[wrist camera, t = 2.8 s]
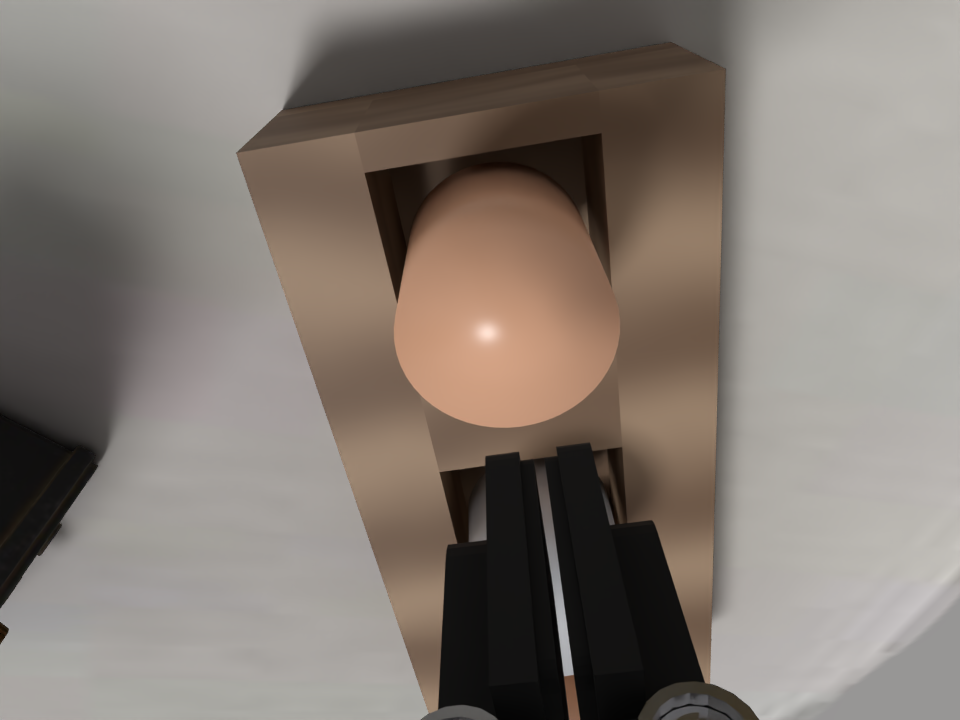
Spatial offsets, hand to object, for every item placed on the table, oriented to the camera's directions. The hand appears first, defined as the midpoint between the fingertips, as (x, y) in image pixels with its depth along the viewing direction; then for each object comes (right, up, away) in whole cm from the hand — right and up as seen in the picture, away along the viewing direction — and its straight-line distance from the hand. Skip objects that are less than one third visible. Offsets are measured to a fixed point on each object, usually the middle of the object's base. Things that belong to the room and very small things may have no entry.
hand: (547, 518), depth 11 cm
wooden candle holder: (+1, -1, +17) cm, 17 cm away
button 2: (-1, +6, +8) cm, 10 cm away
